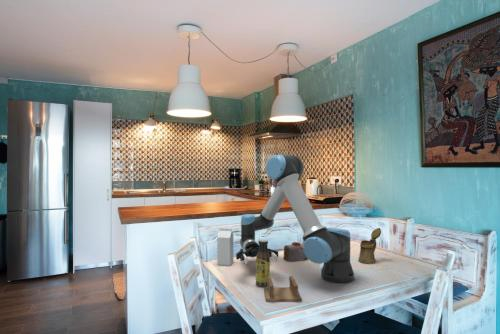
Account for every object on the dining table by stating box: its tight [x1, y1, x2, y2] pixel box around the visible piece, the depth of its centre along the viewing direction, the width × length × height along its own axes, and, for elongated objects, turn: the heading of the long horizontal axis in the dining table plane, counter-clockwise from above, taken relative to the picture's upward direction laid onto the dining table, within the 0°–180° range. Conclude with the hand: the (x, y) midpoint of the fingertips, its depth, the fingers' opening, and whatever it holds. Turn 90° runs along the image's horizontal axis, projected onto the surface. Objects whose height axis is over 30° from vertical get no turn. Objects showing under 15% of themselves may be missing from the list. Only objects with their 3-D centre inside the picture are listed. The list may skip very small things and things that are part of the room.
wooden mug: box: [357, 227, 382, 265], centre depth 178 cm, size 9×14×18 cm, turn 111°
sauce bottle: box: [255, 239, 271, 288], centre depth 143 cm, size 6×6×20 cm
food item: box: [282, 241, 308, 263], centre depth 182 cm, size 14×8×10 cm, turn 116°
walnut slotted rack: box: [263, 275, 303, 303], centre depth 131 cm, size 14×12×6 cm
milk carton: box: [216, 228, 234, 267], centre depth 174 cm, size 7×7×19 cm
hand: (261, 260), depth 143 cm, fingers open, 13 cm apart
